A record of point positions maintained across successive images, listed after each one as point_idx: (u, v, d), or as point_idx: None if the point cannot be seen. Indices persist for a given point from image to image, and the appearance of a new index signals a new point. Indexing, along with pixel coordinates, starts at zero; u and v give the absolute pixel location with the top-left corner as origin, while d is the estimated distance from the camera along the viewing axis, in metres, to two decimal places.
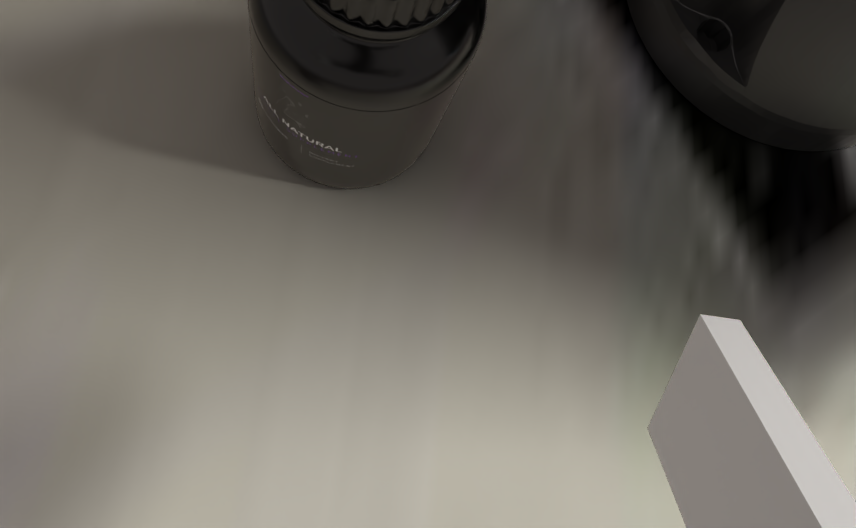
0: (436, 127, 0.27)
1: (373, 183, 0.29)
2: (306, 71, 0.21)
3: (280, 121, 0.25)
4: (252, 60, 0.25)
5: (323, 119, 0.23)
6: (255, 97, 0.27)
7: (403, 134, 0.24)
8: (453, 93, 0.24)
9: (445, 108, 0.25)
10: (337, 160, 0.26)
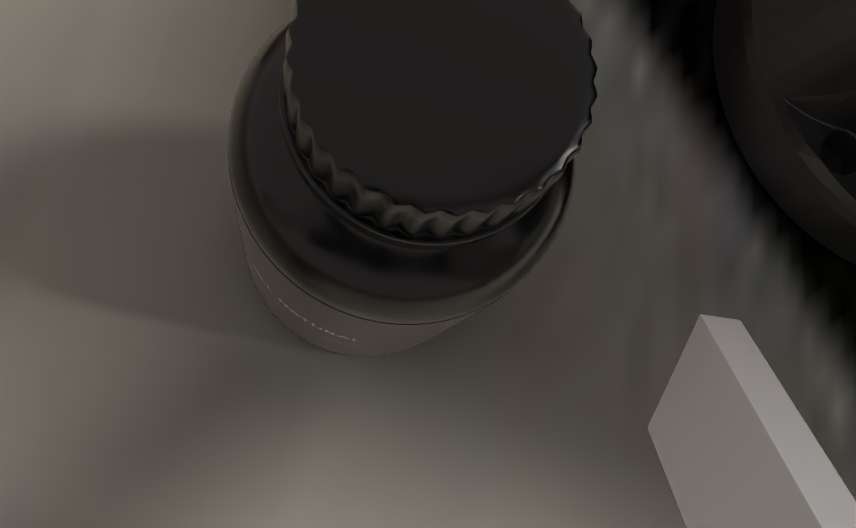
0: None
1: (399, 351, 0.22)
2: (314, 278, 0.14)
3: (275, 297, 0.18)
4: None
5: (337, 320, 0.16)
6: None
7: (447, 327, 0.17)
8: None
9: None
10: (354, 344, 0.19)
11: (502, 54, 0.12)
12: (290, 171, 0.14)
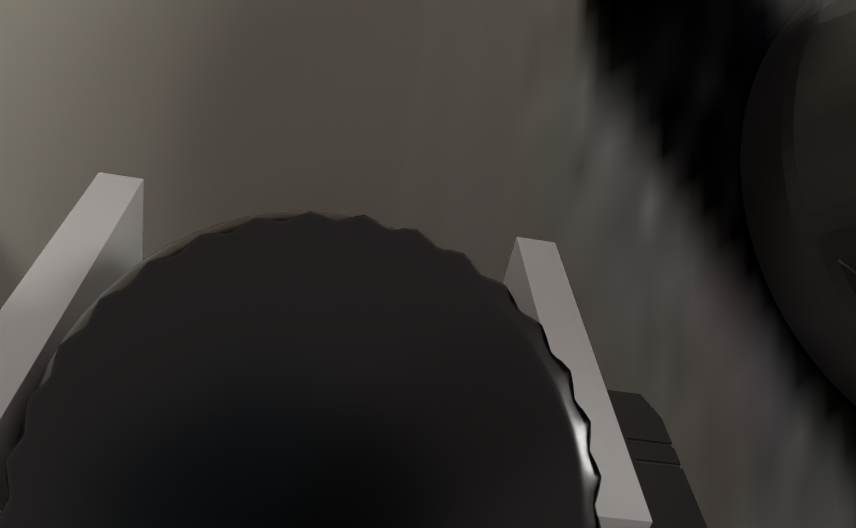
0: None
1: None
2: None
3: None
4: None
5: None
6: None
7: None
8: None
9: None
10: None
11: (425, 473, 0.06)
12: None
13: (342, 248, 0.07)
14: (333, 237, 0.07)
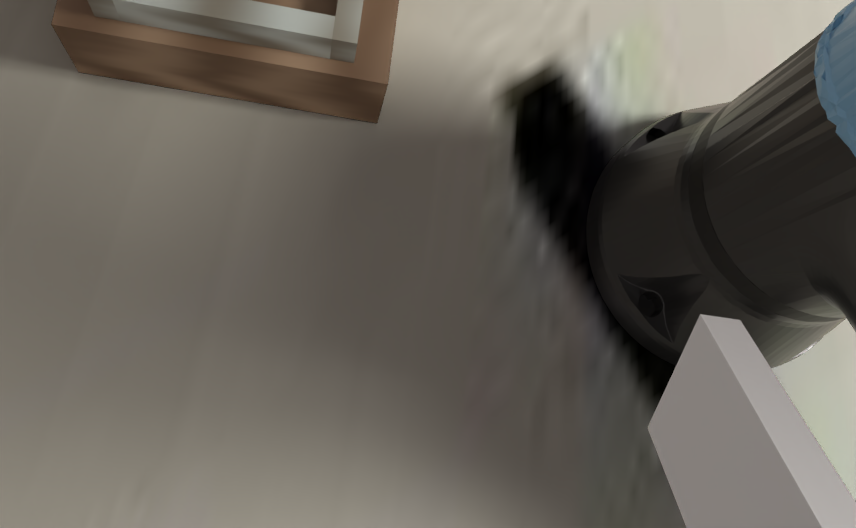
0: None
1: None
2: None
3: None
4: None
5: None
6: None
7: None
8: None
9: None
10: None
11: None
12: None
13: None
14: None
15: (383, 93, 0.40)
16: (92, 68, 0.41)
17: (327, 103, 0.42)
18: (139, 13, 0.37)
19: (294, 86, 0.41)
